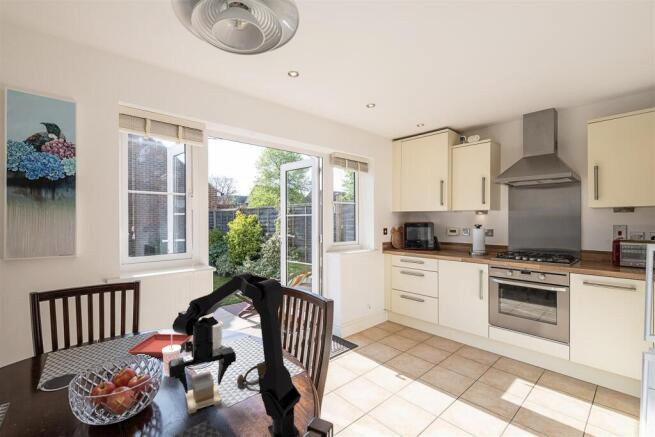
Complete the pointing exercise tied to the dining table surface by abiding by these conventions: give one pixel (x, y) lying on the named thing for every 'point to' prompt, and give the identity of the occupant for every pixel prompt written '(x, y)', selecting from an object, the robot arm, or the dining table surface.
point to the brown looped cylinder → (241, 379)
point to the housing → (203, 387)
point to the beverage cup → (170, 355)
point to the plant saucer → (158, 344)
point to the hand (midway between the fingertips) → (203, 388)
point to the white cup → (217, 335)
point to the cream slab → (194, 406)
